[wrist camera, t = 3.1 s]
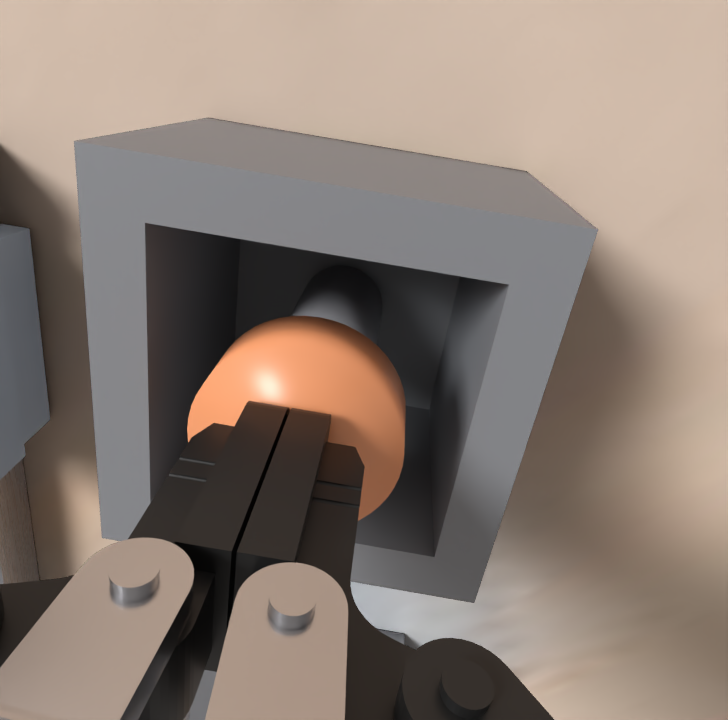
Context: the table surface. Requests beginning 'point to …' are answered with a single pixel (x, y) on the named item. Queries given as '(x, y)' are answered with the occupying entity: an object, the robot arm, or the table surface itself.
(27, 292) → the carriage
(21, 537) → the slide rail
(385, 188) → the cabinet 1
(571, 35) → the table surface
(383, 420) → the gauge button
